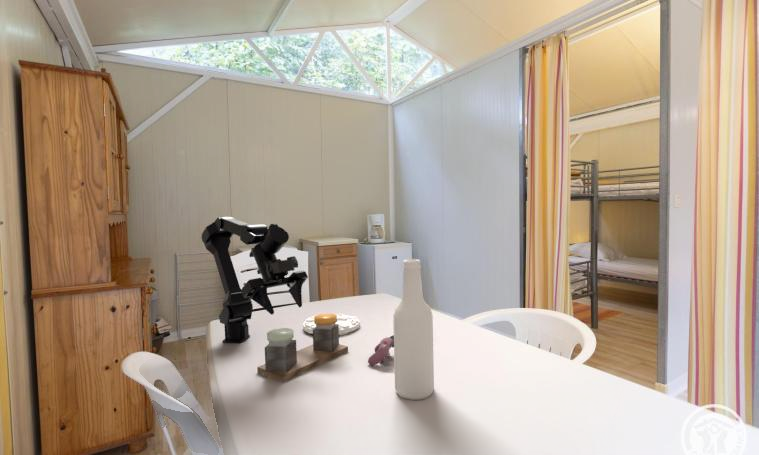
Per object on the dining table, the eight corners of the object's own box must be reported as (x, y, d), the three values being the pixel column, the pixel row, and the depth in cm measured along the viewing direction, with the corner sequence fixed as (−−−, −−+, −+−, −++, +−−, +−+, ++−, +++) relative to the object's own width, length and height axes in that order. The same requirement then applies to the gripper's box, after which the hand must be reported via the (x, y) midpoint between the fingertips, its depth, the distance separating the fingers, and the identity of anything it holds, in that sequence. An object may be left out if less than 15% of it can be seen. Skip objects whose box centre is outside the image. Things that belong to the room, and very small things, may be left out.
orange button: (311, 345, 109) (311, 319, 109) (318, 337, 116) (318, 313, 115) (334, 346, 108) (333, 320, 108) (340, 338, 115) (339, 313, 114)
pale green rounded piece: (263, 365, 96) (262, 336, 96) (274, 355, 102) (273, 327, 102) (288, 366, 95) (287, 336, 95) (298, 356, 101) (297, 328, 101)
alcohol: (439, 398, 83) (436, 261, 81) (399, 403, 81) (396, 263, 80) (427, 381, 91) (425, 256, 90) (391, 384, 90) (388, 258, 89)
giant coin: (370, 325, 139) (370, 317, 138) (336, 341, 122) (336, 332, 122) (328, 317, 149) (327, 310, 149) (291, 331, 133) (291, 323, 133)
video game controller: (381, 372, 101) (392, 349, 100) (365, 363, 102) (376, 341, 101) (387, 358, 110) (398, 337, 110) (373, 350, 111) (384, 329, 110)
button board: (256, 373, 99) (255, 344, 98) (324, 344, 118) (323, 320, 118) (281, 382, 93) (280, 352, 92) (348, 351, 112) (347, 326, 112)
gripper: (249, 250, 99) (270, 303, 94) (306, 244, 113) (328, 290, 108) (232, 271, 105) (252, 323, 100) (289, 263, 120) (308, 308, 114)
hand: (287, 310), depth 105 cm, fingers open, 9 cm apart
